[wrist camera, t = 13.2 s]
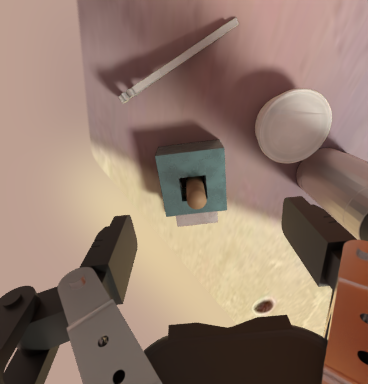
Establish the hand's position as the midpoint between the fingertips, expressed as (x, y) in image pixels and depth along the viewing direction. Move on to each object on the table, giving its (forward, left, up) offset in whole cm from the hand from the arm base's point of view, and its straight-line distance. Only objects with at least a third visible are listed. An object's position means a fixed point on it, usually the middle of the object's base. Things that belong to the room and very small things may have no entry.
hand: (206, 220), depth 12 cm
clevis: (+1, +11, -30) cm, 32 cm away
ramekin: (-16, +2, -30) cm, 34 cm away
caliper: (+1, -9, -31) cm, 32 cm away
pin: (0, +10, -30) cm, 32 cm away
